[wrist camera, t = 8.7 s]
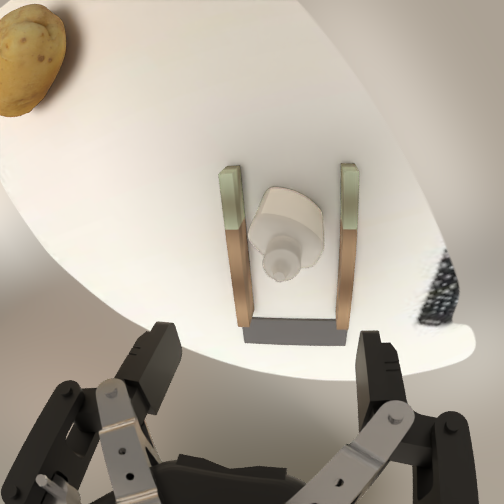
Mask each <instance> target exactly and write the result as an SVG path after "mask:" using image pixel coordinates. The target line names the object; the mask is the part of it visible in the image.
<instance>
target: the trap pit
mask: <svg viewBox="0 0 504 504" xmlns="http://www.w3.org/2000/svg"><path fill="white" fill-rule="evenodd" d="M243 335H244V342H245V343H256V344H277V345H309V346H345V344H346V337H347V330H337V327H336V319H282V318H253V317H252V319H251V323H250V327H243Z"/></svg>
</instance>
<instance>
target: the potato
mask: <svg viewBox="0 0 504 504" xmlns="http://www.w3.org/2000/svg"><path fill="white" fill-rule="evenodd" d="M65 51H66V36H65V28H64V24H63V22H62V21H61V19H60V18H59V17H58V16H57V15H55V14H53V13H52V12H51V11H49V10H48V9H47V8H46V7H45V6H43V5H39V4H30V5H26V6H23V7H20V8H18V9H16V10H14V11H11V12H10V13H8V14H7V15H5V16H4V17H3V18H2V19H1V20H0V115H1V116H5V117H17V116H21V115H23V114H26V113H29V112H30V111H32V109H33V108H34V107H35V106H36V105H38V103H39V102H40V101H41V100H42V99H43V98H44V97H45V95H46V94H47V91H48V90H49V88H50V87H51V85H52V83H53V82H54V80H55V78H56V76H57V74H58V72H59V69H60V67H61V65H62V62H63V60H64V56H65Z"/></svg>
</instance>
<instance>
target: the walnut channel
mask: <svg viewBox="0 0 504 504" xmlns="http://www.w3.org/2000/svg"><path fill="white" fill-rule="evenodd" d="M218 176H219V184H220V193H221V201H222V209H223V217H224V225H225V233H226V241H227V249H228V257H229V264H230V272H231V279H232V287H233V294H234V301H235V308H236V316H237V323H238V327H250V323H251V319H252V316H253V312H254V304H253V294H252V284H251V274H250V264H249V254H248V244H247V233H246V223H245V213H244V203H243V192H242V182H241V172H240V166H227V167H226V168H225V169H223V170H222V171H221V172H220V173H219V174H218ZM358 199H359V170H358V169H357V167H356V165H355V164H351V163H341V219H340V249H339V269H338V286H337V300H336V327H337V330H348V327H349V319H350V310H351V301H352V291H353V281H354V269H355V256H356V241H357V223H358Z"/></svg>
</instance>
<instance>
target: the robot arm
mask: <svg viewBox="0 0 504 504" xmlns="http://www.w3.org/2000/svg"><path fill="white" fill-rule="evenodd" d="M181 357H182V347H181V344H180V340H179V337H178V334H177V330H176V327H175V325H174V323H169V322H156V323H155V325H154V326H153V328H152V330H151V331H150V332H147V331H146V332H145V333H144V334H143V335H142V336H140V337H139V338H138V339H137V341H136V342H135V344H134V346H133V348H132V349H131V351H130V352H129V355H128V356H127V357H126V359H125V360H124V362H123V364H122V365H121V367H120V369H119V371H118V372H117V374H116V376H115V377H114V378H111V379H107V380H105V381H103V382H102V383H101V384H100V385H99V386H98V387H97V388H85V389H81V387H80V386H79V384H78V383H77V382H75V381H72V380H69V381H64V382H62V383H61V384H59V385H58V386H57V387H56V389H55V390H54V392H53V394H52V395H51V397H50V399H49V400H48V402H47V404H46V405H45V407H44V409H43V411H42V412H41V414H40V416H39V418H38V419H37V421H36V423H35V424H34V426H33V428H32V430H31V432H30V433H29V435H28V437H27V439H26V441H25V443H24V444H23V446H22V448H21V450H20V452H19V454H18V456H17V458H16V460H15V462H14V464H13V466H12V467H11V470H10V471H9V473H8V476H7V478H6V480H5V482H4V484H3V486H2V489H1V496H2V499H3V501H4V502H5V504H81V497H80V494H79V492H78V489H79V487H80V484H81V482H82V480H83V477H84V475H85V472H86V470H87V468H88V465H89V463H90V461H91V458H92V456H93V454H94V451H95V449H96V447H97V444H98V442H99V440H100V441H101V446H102V450H103V454H104V458H105V462H106V466H107V470H108V474H109V477H110V481H111V484H112V488H113V491H111V492H110V493H108V494H106V495H104V496H103V497H101V498H99V499H97V500H95V501H94V502H92V503H90V504H357V503H358V501H359V500H360V499H361V498H362V496H363V495H364V494H365V493H366V491H367V490H368V489H369V488H370V486H371V485H372V484H373V483H374V482H375V480H376V479H377V478H378V477H379V475H380V474H381V473H382V471H383V470H384V469H385V468H386V466H387V465H388V463H389V462H390V461H394V462H399V463H404V464H409V465H412V467H413V504H479V501H478V489H477V479H476V471H475V463H474V456H473V450H472V443H471V437H470V432H469V426H468V423H467V420H466V419H465V417H464V416H463V415H461V414H460V413H458V412H454V411H448V412H444V413H442V414H441V415H440V416H438V418H435V417H430V416H425V415H421V414H418V413H416V412H415V411H414V410H413V409H412V408H411V406H409V405H408V403H407V400H406V395H405V389H404V384H403V380H402V373H401V369H400V364H399V359H398V354H397V351H396V350H395V348H394V347H393V346H392V344H391V343H381V340H380V334H379V331H361V332H360V337H359V343H358V349H357V354H356V364H355V370H356V383H357V400H358V420H359V434H358V435H357V437H356V438H355V439H354V440H353V441H352V442H351V443H350V444H346V445H345V446H344V447H343V448H341V449H340V451H339V452H338V453H337V454H336V455H335V456H334V457H333V458H332V459H331V460H330V461H329V462H328V463H327V464H326V465H325V466H324V467H323V468H322V469H321V470H320V471H319V472H318V473H317V474H316V476H314V477H313V478H312V479H311V480H310V481H309V482H308V483H307V484H306V483H305V482H303V481H301V480H300V479H298V478H295V477H293V476H290V475H287V472H286V471H287V468H276V467H264V466H255V467H245V468H234V469H229V468H226V467H223V466H221V465H218V464H216V463H213V462H211V461H209V460H206V459H204V458H198V457H193V456H187V455H183V454H179V457H178V459H177V460H174V461H167V462H162V460H161V458H160V457H159V455H158V452H157V450H156V447H155V445H154V442H153V439H152V437H151V434H150V431H149V428H148V426H147V423H146V420H145V417H146V415H147V413H148V414H153V415H157V412H158V410H159V408H160V406H161V403H162V401H163V399H164V397H165V394H166V392H167V390H168V387H169V385H170V383H171V381H172V378H173V376H174V373H175V372H176V369H177V367H178V365H179V363H180V361H181ZM73 423H74V425H73V427H72V429H71V431H70V433H69V435H68V437H67V439H66V436H67V433H68V431H69V430H70V428H71V426H72V424H73Z"/></svg>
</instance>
